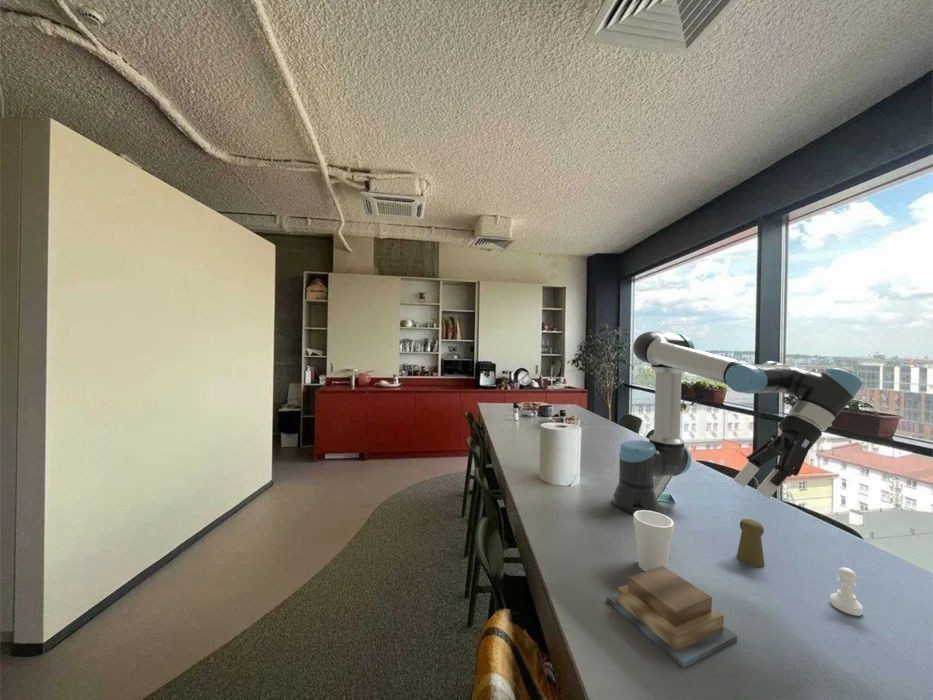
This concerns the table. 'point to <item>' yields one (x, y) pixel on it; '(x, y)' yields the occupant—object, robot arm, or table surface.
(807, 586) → the table surface
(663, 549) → the foam cup
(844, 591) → the chess pawn
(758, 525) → the cork
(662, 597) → the stepped wooden pedestal
